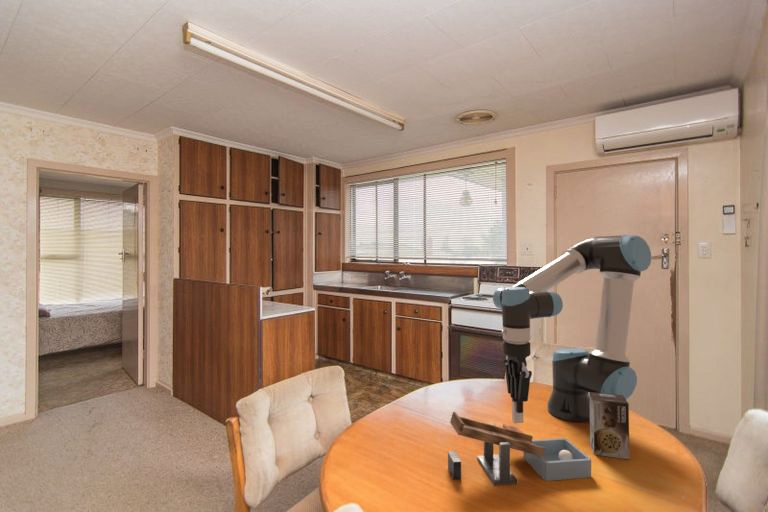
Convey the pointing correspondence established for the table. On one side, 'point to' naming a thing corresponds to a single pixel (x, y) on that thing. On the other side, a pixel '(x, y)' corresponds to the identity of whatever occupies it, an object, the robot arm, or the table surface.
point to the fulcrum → (488, 464)
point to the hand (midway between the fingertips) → (517, 421)
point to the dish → (553, 466)
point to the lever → (495, 434)
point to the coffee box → (609, 425)
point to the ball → (565, 455)
